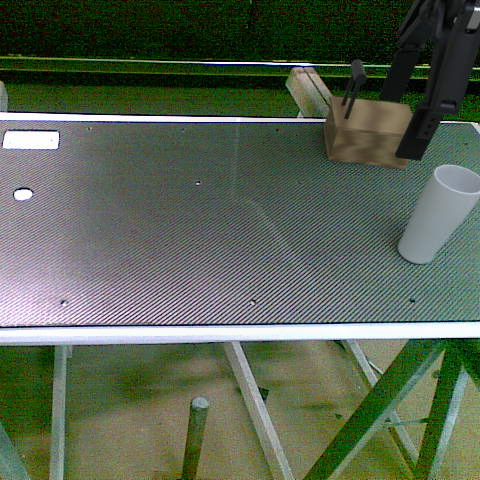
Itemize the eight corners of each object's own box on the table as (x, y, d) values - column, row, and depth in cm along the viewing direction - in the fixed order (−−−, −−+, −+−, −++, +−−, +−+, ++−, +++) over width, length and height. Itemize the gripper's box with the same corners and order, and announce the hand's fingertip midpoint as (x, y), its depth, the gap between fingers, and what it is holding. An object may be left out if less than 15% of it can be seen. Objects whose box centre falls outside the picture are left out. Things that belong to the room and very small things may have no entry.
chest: (328, 160, 93) (338, 130, 88) (323, 128, 101) (332, 99, 96) (404, 169, 91) (420, 139, 87) (393, 137, 100) (406, 107, 95)
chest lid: (334, 129, 88) (352, 80, 81) (329, 98, 96) (344, 51, 89) (420, 139, 87) (444, 90, 80) (406, 107, 95) (428, 60, 88)
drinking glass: (416, 234, 79) (461, 160, 68) (445, 264, 74) (498, 189, 63) (382, 243, 77) (422, 168, 66) (410, 273, 72) (458, 198, 62)
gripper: (417, -101, 53) (356, 77, 68) (483, -38, 36) (381, 182, 51) (488, -96, 53) (409, 83, 68) (589, -29, 35) (454, 192, 50)
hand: (397, 126), depth 59 cm, fingers open, 13 cm apart
